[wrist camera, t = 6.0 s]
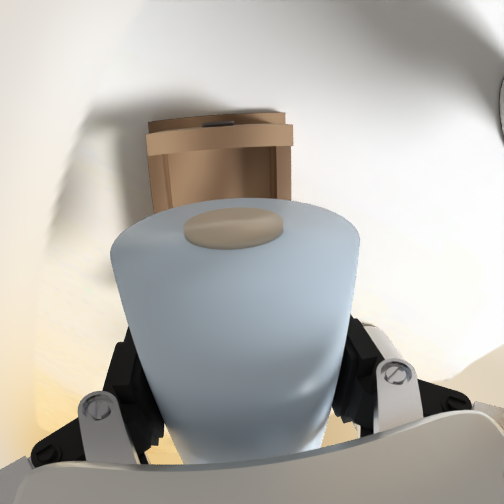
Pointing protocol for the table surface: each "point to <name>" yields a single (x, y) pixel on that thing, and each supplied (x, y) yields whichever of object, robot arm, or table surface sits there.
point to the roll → (239, 321)
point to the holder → (219, 158)
